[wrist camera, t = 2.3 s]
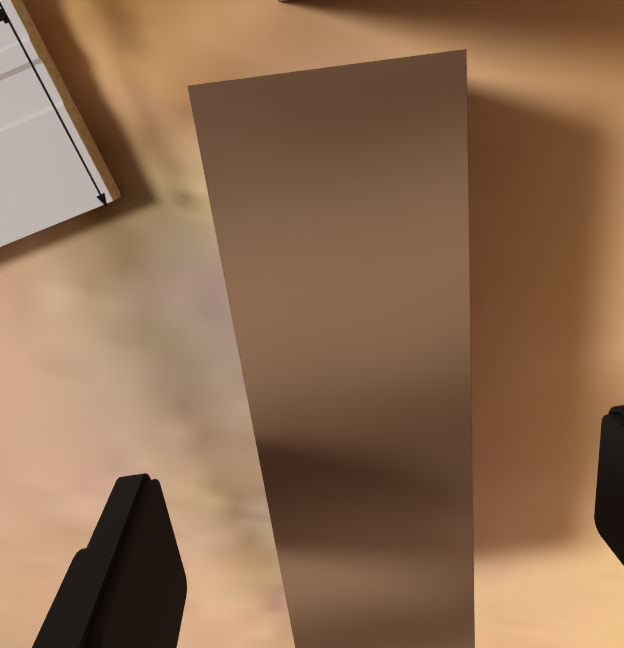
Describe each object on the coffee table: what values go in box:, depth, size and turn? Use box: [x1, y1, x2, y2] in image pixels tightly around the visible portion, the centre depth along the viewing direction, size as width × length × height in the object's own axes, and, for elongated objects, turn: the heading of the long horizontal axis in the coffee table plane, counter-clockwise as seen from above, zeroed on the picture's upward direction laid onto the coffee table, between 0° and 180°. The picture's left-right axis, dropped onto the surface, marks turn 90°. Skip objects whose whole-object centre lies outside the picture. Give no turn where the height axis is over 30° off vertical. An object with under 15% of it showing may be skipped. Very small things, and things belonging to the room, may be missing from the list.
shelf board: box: [188, 49, 475, 648], centre depth 15 cm, size 16×5×6 cm, turn 7°
